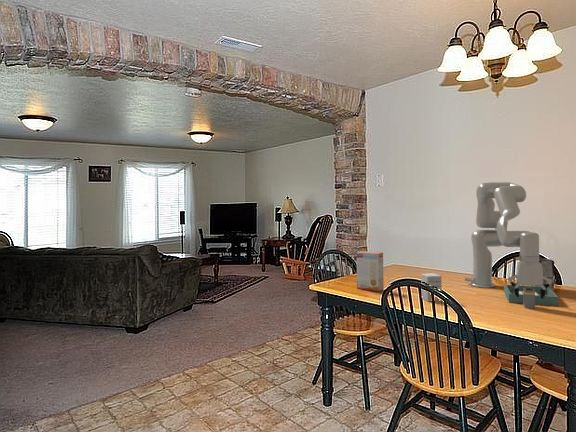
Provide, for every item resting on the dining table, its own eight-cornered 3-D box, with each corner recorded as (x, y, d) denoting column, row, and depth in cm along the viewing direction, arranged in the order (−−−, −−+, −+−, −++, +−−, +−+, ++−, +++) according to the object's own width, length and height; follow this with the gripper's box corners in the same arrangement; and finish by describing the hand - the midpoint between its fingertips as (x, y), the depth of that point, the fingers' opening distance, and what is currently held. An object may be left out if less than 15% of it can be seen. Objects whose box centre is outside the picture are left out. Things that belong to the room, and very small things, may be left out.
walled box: (508, 302, 195) (508, 293, 194) (503, 292, 215) (504, 284, 215) (558, 305, 187) (558, 297, 187) (548, 295, 207) (548, 287, 207)
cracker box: (384, 290, 225) (383, 252, 224) (378, 292, 221) (378, 253, 220) (362, 286, 235) (361, 250, 234) (356, 288, 230) (356, 251, 230)
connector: (524, 307, 185) (524, 288, 185) (523, 305, 189) (523, 286, 188) (534, 308, 184) (535, 289, 183) (533, 306, 187) (533, 287, 187)
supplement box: (421, 298, 206) (420, 273, 205) (435, 297, 206) (435, 272, 206) (427, 302, 198) (427, 276, 198) (442, 301, 199) (441, 275, 198)
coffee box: (554, 291, 215) (554, 260, 214) (541, 291, 216) (541, 260, 215) (547, 287, 224) (547, 258, 223) (534, 287, 225) (534, 258, 224)
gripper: (508, 260, 185) (508, 297, 185) (553, 261, 178) (553, 300, 179) (506, 258, 192) (507, 294, 192) (550, 259, 185) (550, 296, 186)
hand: (529, 297), depth 186 cm, fingers open, 9 cm apart
